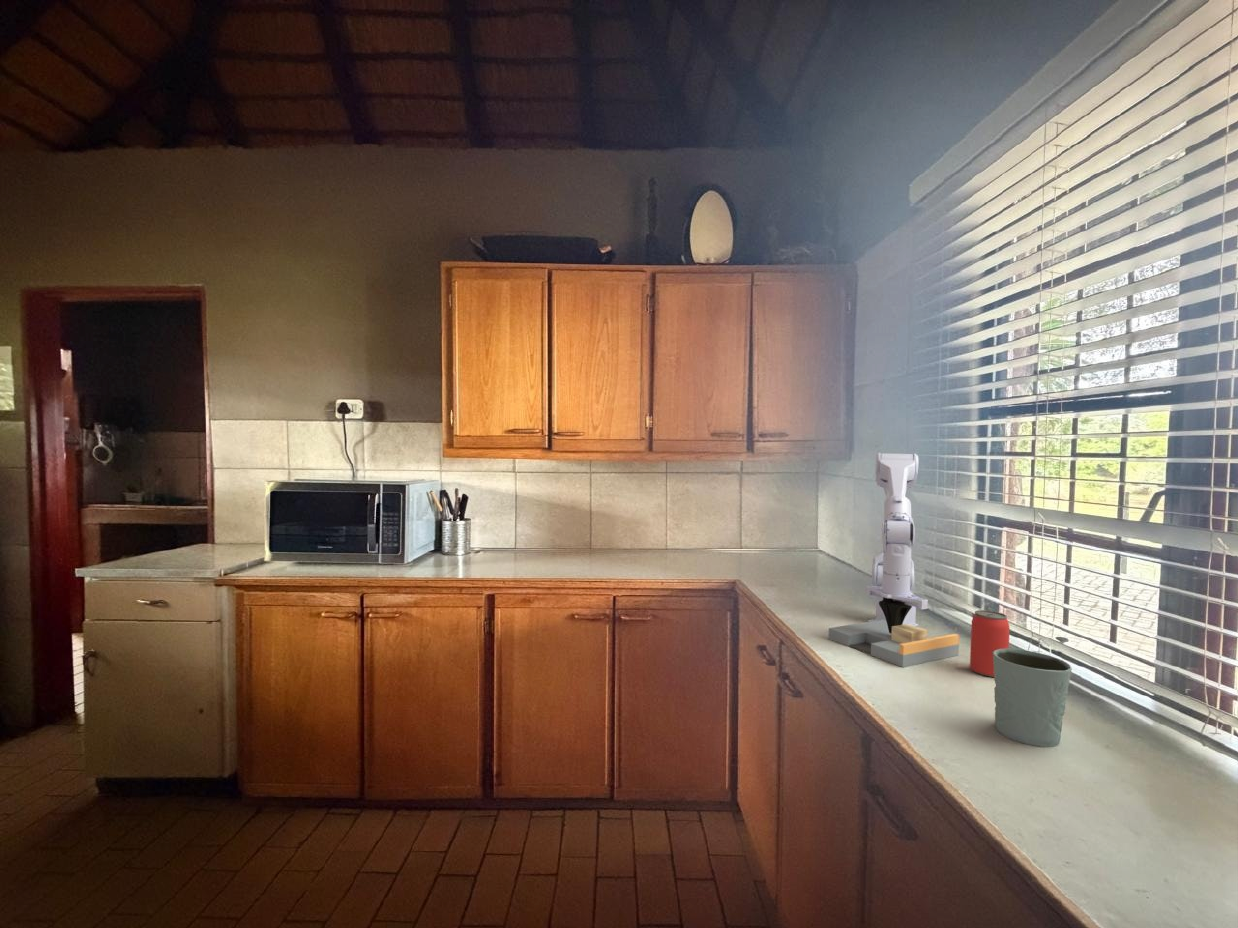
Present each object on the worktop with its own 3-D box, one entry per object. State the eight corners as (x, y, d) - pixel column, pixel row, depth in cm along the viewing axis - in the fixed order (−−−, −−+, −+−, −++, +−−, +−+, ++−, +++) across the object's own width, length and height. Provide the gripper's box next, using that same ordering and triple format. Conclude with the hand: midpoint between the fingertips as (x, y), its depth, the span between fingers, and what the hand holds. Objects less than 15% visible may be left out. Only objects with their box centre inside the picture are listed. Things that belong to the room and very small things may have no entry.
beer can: (972, 675, 119) (974, 615, 119) (967, 664, 125) (969, 607, 125) (1011, 680, 116) (1013, 619, 116) (1003, 669, 122) (1006, 611, 122)
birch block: (906, 636, 135) (907, 623, 135) (926, 643, 130) (927, 630, 130) (891, 639, 132) (891, 626, 132) (911, 646, 128) (911, 632, 128)
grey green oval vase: (976, 724, 97) (979, 651, 97) (1016, 715, 101) (1019, 644, 101) (1041, 754, 88) (1044, 674, 87) (1083, 742, 92) (1086, 665, 91)
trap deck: (881, 629, 148) (882, 611, 148) (958, 655, 130) (959, 635, 130) (828, 638, 140) (829, 619, 140) (902, 667, 122) (903, 645, 122)
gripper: (857, 568, 139) (855, 626, 139) (913, 581, 126) (910, 645, 126) (878, 566, 142) (876, 622, 142) (934, 578, 129) (932, 640, 130)
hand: (894, 633), depth 135 cm, fingers closed
